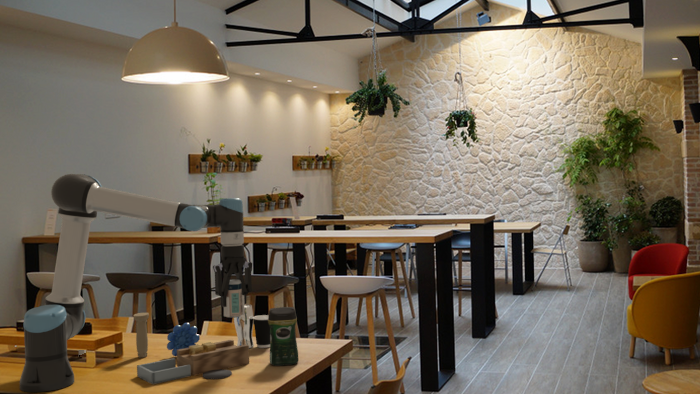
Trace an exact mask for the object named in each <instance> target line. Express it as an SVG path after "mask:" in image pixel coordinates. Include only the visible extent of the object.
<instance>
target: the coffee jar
mask: <svg viewBox="0 0 700 394" xmlns="http://www.w3.org/2000/svg"><path fill="white" fill-rule="evenodd" d="M296 312H297V311H296V308H295V307H294V306H292V307H291V306H285V307H284V306H283V307H281V306H280V307H272V308H269V311H268V315H269V316H268V323H269V326H270V347H269V364H270V365H272V366H274V367H275V366H278V367H280V366H292V365H295V364H297V363H299V349H298V342H297V334H296V324H297V322H298V321H297V320H298V317H297V313H296Z"/></svg>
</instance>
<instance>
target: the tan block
mask: <svg viewBox="0 0 700 394" xmlns="http://www.w3.org/2000/svg"><path fill="white" fill-rule="evenodd" d="M214 343H215V342H205V343H201V345H202V346H203V353H205V352H210V351H215V350H216V344H214Z"/></svg>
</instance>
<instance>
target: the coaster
mask: <svg viewBox="0 0 700 394" xmlns="http://www.w3.org/2000/svg"><path fill="white" fill-rule="evenodd" d="M232 375H233V373H232V370H230V369H217V370H210V371H207V372H204V373H203V374H202V378H203V379H206V380H223V379H226V378H230V377H231V376H232Z"/></svg>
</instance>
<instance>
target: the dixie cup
mask: <svg viewBox="0 0 700 394" xmlns="http://www.w3.org/2000/svg"><path fill="white" fill-rule="evenodd" d="M268 316H269V314H267V315H266V314H262V315H255V316H253V328H254V334H255V342H256V346H257V348H260V349H264V348H265V349H266V348H270V326H269V323H268Z"/></svg>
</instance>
